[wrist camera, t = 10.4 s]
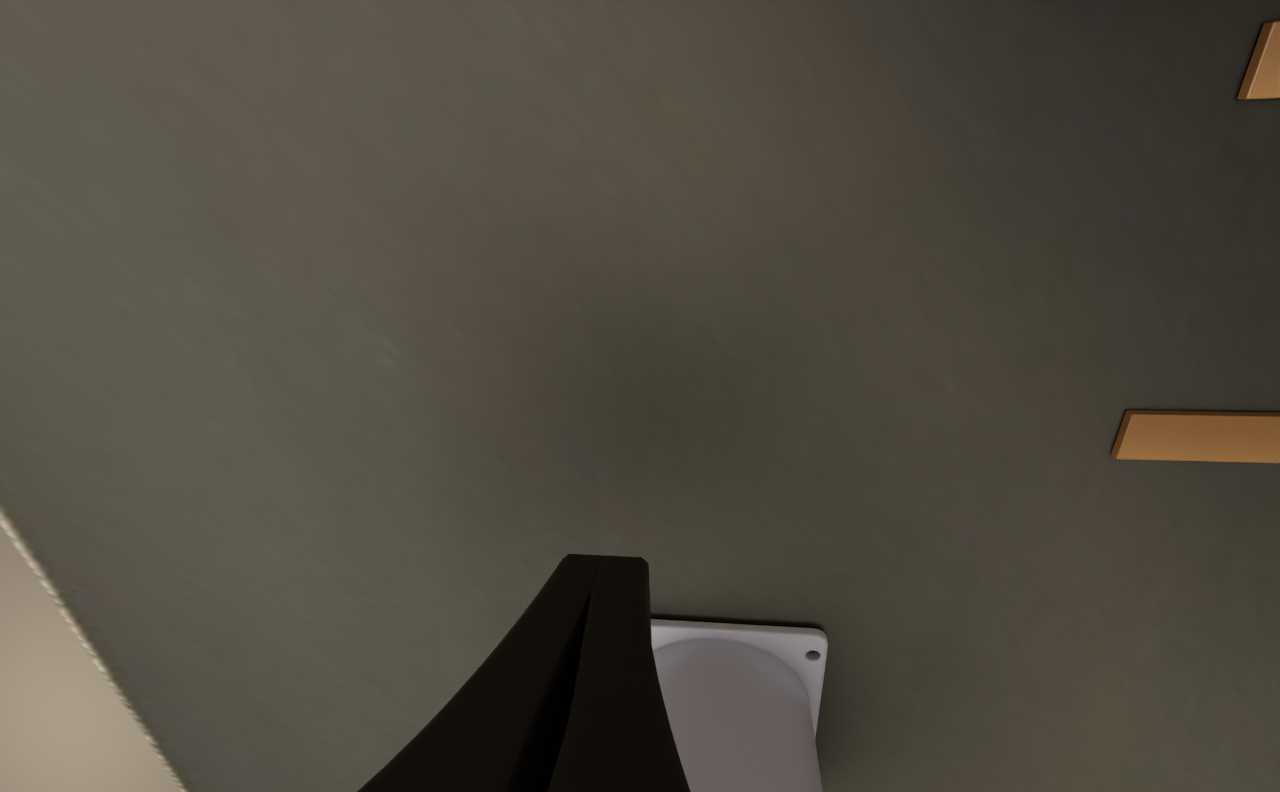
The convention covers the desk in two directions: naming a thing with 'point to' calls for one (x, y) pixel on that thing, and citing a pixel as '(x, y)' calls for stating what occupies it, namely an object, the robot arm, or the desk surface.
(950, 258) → the desk surface
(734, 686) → the robot arm
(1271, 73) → the cork bay
